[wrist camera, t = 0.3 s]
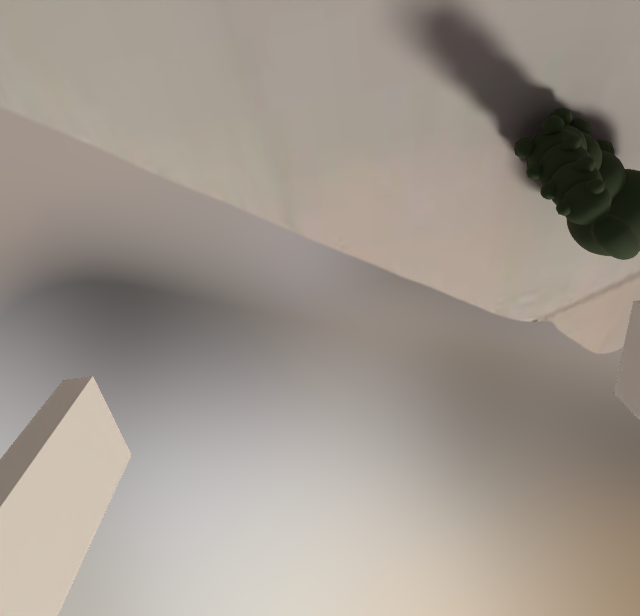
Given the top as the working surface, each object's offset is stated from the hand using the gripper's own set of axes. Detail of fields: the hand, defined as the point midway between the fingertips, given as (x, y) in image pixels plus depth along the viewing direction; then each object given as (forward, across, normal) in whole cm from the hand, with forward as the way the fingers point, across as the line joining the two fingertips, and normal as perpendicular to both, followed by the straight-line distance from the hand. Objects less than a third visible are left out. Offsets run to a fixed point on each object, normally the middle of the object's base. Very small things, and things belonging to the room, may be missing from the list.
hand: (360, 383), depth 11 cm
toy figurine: (+42, +28, -6) cm, 51 cm away
